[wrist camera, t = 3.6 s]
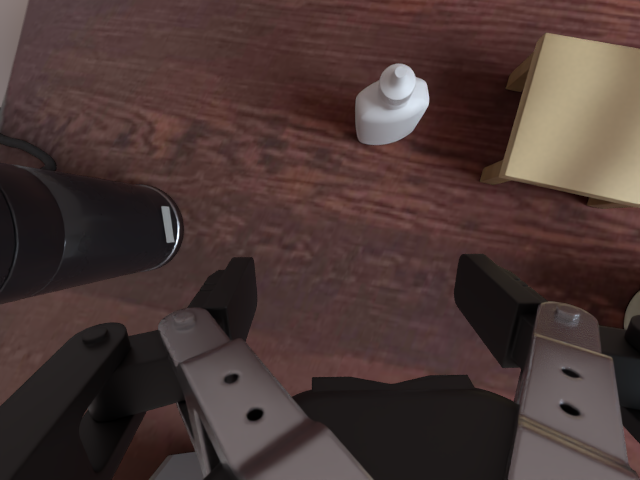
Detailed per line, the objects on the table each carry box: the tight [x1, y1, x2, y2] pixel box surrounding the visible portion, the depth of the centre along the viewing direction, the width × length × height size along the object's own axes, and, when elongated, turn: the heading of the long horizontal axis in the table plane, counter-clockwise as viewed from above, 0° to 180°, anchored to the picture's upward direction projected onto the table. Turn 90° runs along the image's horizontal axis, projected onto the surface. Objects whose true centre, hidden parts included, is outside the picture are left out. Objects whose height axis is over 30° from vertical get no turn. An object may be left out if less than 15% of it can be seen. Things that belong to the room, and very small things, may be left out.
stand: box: [480, 33, 640, 209], centre depth 27 cm, size 12×11×6 cm
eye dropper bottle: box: [355, 64, 429, 145], centre depth 26 cm, size 4×6×12 cm
